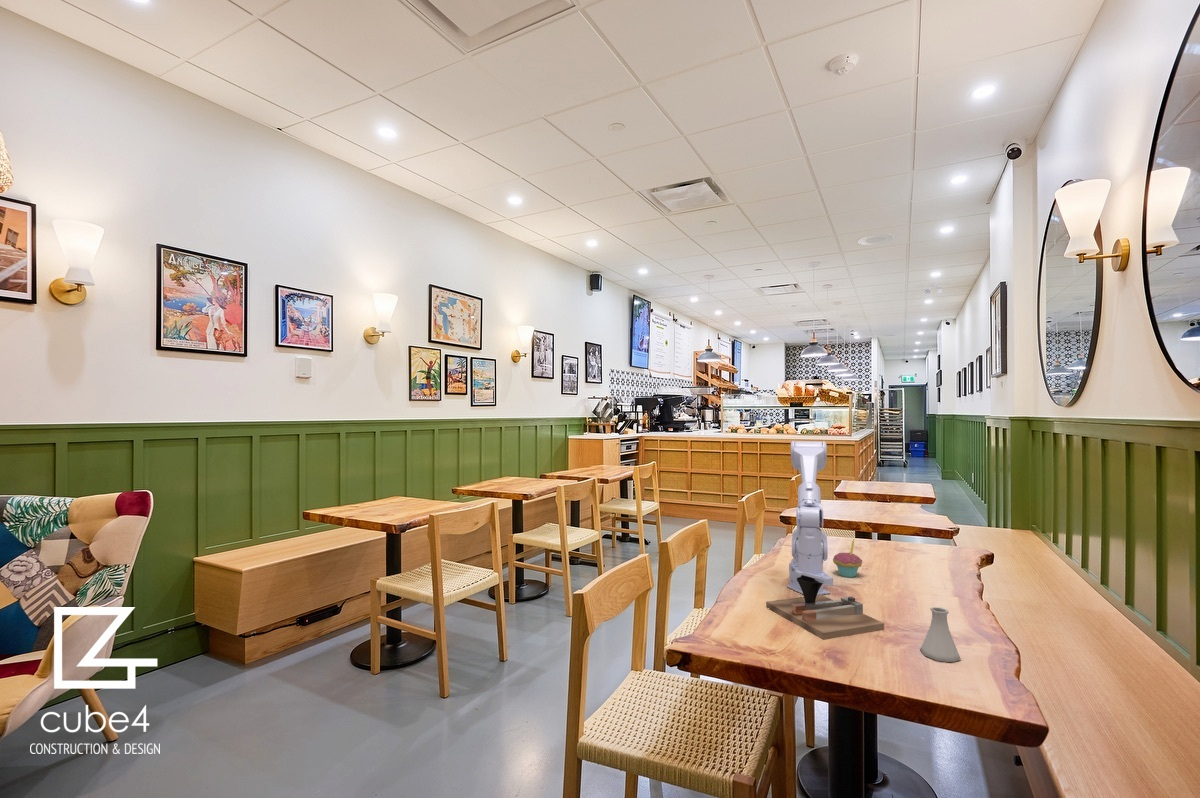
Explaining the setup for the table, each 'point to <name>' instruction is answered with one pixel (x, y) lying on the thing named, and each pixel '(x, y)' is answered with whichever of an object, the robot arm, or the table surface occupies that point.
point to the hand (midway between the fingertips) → (810, 606)
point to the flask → (939, 638)
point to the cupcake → (847, 563)
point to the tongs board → (828, 617)
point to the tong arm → (814, 606)
